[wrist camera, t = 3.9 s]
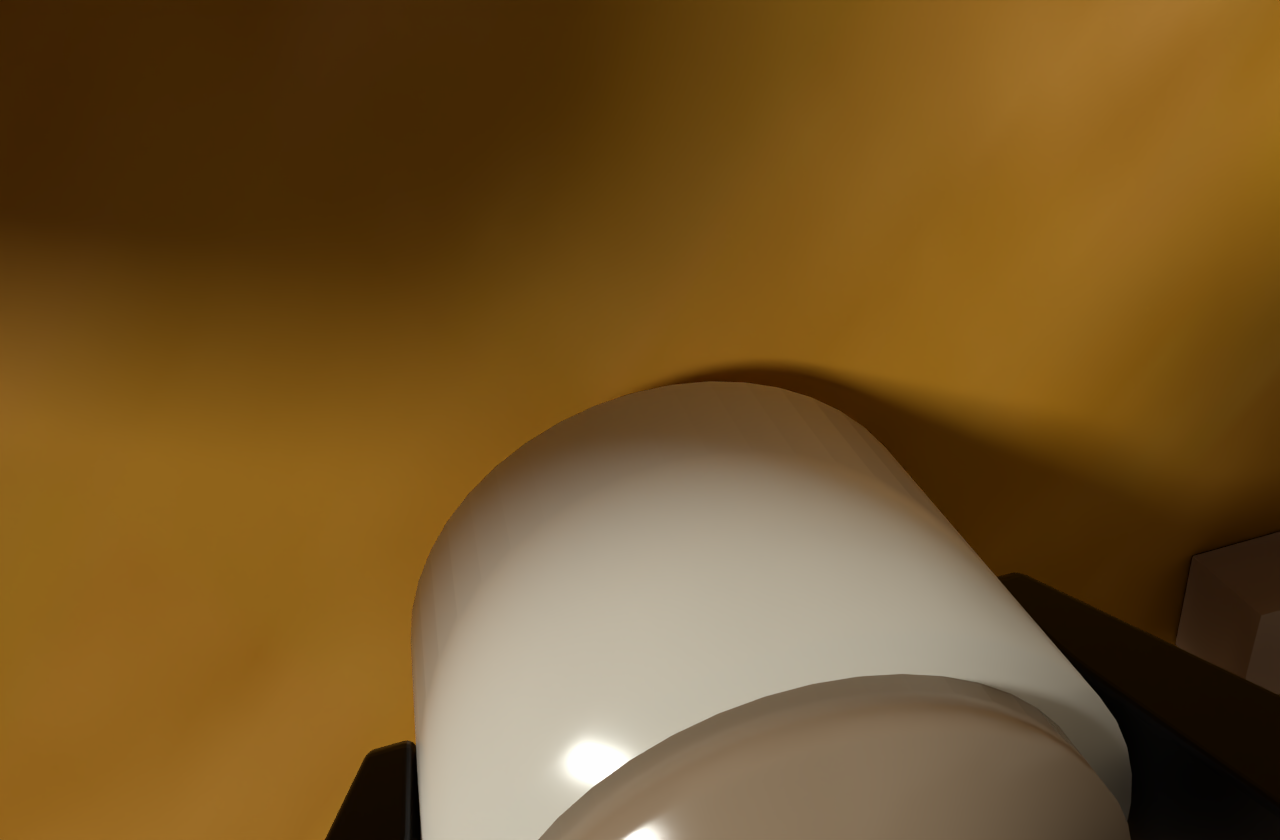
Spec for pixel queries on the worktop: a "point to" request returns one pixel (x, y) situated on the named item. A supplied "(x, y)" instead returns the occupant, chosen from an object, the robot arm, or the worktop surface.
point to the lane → (1236, 610)
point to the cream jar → (738, 646)
